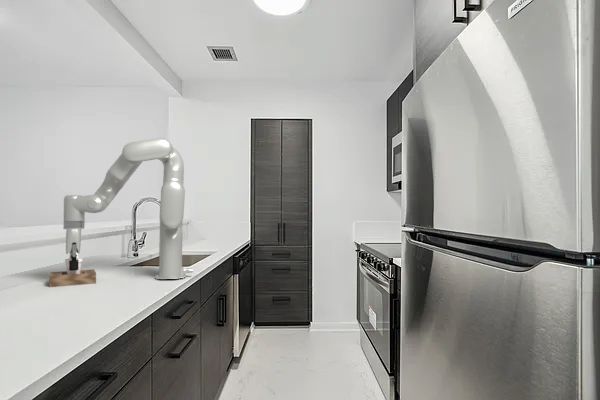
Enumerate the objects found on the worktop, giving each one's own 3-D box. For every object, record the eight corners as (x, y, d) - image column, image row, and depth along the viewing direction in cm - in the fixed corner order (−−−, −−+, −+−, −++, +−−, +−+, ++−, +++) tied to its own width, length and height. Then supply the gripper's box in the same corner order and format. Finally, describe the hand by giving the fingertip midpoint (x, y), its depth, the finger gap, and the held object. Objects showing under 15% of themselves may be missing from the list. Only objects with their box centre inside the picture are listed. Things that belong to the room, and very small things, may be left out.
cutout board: (93, 278, 175) (94, 269, 175) (95, 283, 165) (96, 273, 165) (50, 281, 167) (50, 272, 167) (49, 287, 156) (49, 276, 157)
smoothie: (61, 283, 165) (62, 248, 165) (78, 280, 170) (78, 247, 170) (68, 285, 161) (69, 249, 161) (85, 282, 166) (86, 248, 166)
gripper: (63, 224, 172) (62, 266, 171) (63, 226, 157) (62, 273, 156) (83, 224, 175) (83, 265, 175) (85, 226, 160) (84, 271, 160)
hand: (73, 268), depth 166 cm, fingers open, 6 cm apart
